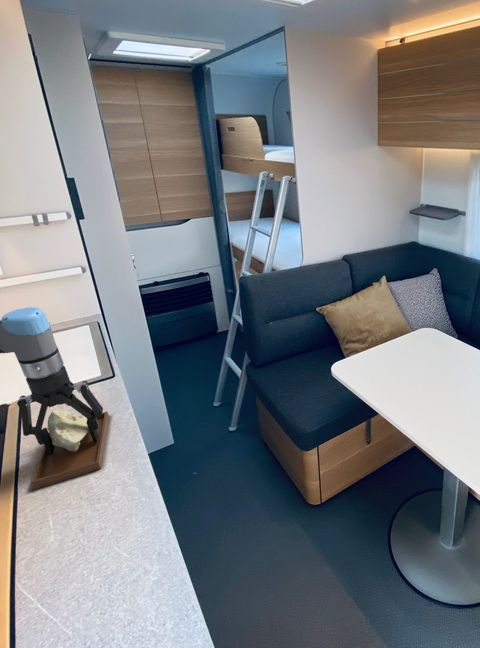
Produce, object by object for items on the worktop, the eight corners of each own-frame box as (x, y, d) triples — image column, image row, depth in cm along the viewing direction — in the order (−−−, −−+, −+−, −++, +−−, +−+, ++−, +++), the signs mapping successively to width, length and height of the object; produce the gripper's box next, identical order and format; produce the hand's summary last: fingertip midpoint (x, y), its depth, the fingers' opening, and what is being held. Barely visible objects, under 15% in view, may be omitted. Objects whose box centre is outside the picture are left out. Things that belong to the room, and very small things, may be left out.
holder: (34, 489, 94) (31, 482, 93) (53, 432, 112) (51, 426, 111) (100, 468, 100) (98, 462, 99) (109, 417, 117) (107, 411, 116)
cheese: (68, 430, 113) (13, 433, 99) (84, 407, 115) (32, 406, 100) (104, 461, 109) (53, 468, 95) (121, 436, 110) (72, 439, 96)
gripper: (-20, 392, 89) (18, 470, 98) (96, 366, 98) (121, 440, 106) (-8, 375, 95) (26, 450, 104) (100, 352, 104) (123, 423, 113)
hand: (74, 445), depth 105 cm, fingers closed on cheese, 9 cm apart
